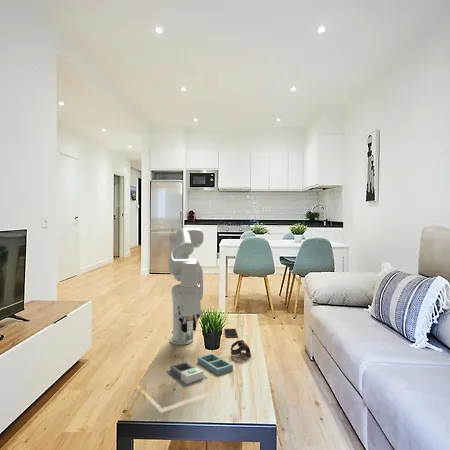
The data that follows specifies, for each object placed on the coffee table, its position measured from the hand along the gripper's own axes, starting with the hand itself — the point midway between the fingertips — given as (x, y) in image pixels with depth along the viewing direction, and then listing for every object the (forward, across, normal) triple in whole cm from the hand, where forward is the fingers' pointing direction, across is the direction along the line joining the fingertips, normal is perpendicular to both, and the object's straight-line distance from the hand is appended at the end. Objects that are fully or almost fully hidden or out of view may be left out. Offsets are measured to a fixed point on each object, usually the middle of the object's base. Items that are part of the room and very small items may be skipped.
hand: (188, 330), depth 155 cm
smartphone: (+20, -46, -30) cm, 59 cm away
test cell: (+4, 0, 0) cm, 4 cm away
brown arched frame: (+19, -32, -2) cm, 37 cm away
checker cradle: (+19, +3, +4) cm, 20 cm away
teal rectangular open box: (+19, -12, +3) cm, 23 cm away
